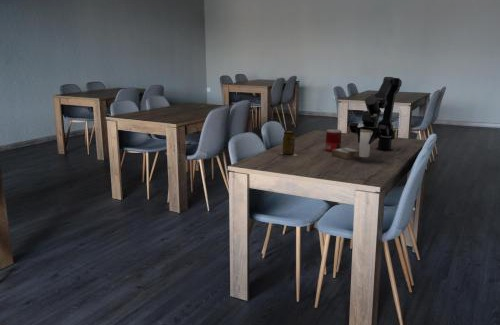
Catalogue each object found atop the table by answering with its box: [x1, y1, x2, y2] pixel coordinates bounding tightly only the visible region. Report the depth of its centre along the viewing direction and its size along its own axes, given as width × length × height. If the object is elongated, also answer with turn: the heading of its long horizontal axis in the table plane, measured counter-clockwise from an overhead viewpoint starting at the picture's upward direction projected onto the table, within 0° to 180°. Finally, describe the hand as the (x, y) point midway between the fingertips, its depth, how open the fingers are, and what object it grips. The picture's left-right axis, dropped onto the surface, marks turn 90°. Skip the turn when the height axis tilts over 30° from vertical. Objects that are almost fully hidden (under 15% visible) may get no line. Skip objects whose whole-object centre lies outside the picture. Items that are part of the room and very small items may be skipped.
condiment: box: [279, 130, 299, 157], centre depth 237 cm, size 7×8×12 cm
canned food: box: [325, 128, 342, 153], centre depth 248 cm, size 8×8×11 cm
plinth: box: [331, 147, 360, 160], centre depth 236 cm, size 10×10×3 cm
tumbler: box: [358, 129, 372, 158], centre depth 223 cm, size 5×5×13 cm
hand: (363, 143), depth 222 cm, fingers closed on tumbler, 5 cm apart
